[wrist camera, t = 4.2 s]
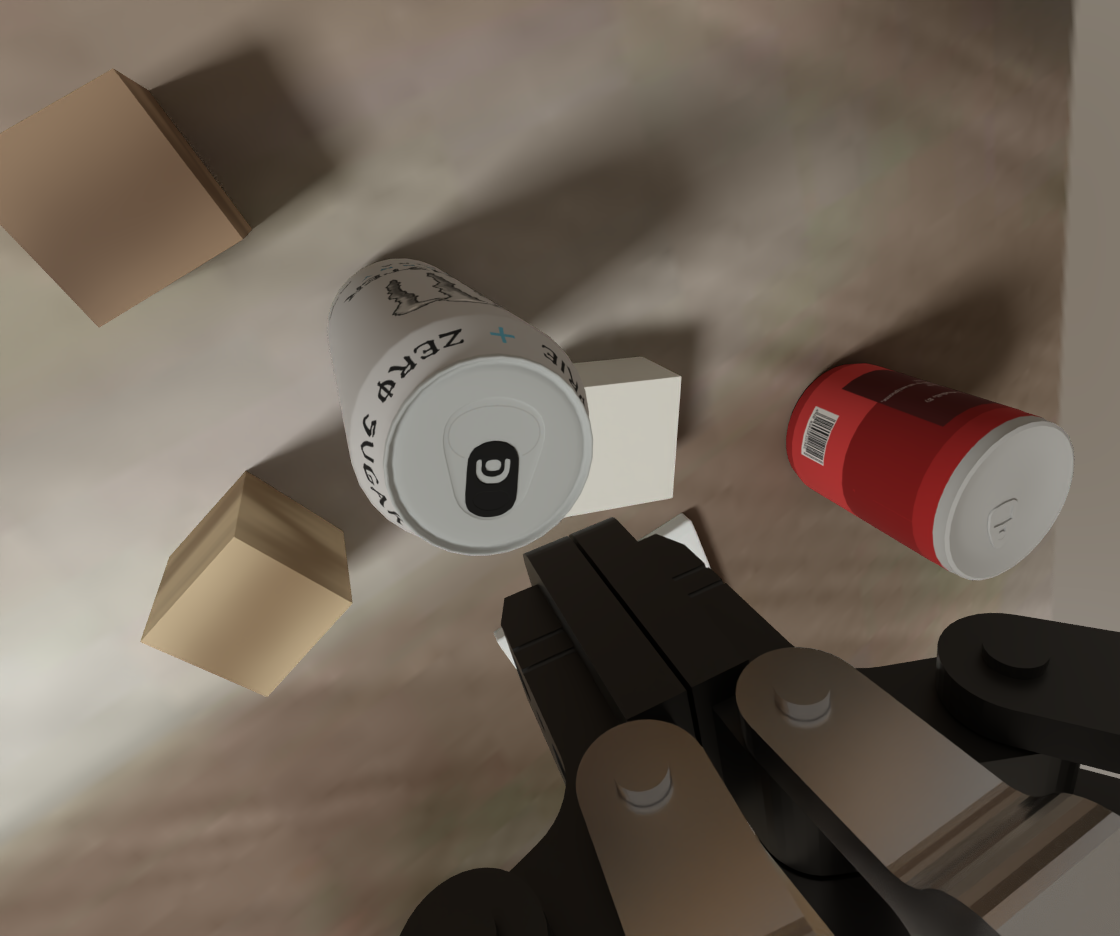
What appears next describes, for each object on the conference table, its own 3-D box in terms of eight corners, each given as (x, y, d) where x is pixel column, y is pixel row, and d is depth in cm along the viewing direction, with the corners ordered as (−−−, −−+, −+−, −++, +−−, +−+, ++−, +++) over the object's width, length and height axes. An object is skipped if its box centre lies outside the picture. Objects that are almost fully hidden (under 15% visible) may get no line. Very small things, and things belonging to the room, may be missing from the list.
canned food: (804, 510, 40) (960, 611, 30) (762, 411, 36) (929, 493, 26) (899, 437, 40) (1083, 515, 31) (869, 332, 36) (1070, 385, 27)
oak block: (169, 556, 28) (140, 642, 22) (245, 470, 27) (233, 536, 22) (272, 609, 30) (266, 696, 25) (343, 530, 30) (352, 603, 25)
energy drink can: (475, 261, 27) (633, 331, 14) (468, 398, 30) (600, 565, 17) (323, 250, 25) (350, 321, 12) (328, 399, 27) (356, 591, 15)
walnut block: (15, 169, 21) (-57, 165, 17) (149, 91, 22) (112, 68, 17) (134, 301, 24) (98, 327, 19) (252, 229, 24) (243, 239, 20)
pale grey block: (524, 367, 30) (553, 390, 27) (640, 355, 32) (681, 376, 29) (527, 483, 33) (555, 519, 29) (634, 466, 34) (672, 497, 31)
